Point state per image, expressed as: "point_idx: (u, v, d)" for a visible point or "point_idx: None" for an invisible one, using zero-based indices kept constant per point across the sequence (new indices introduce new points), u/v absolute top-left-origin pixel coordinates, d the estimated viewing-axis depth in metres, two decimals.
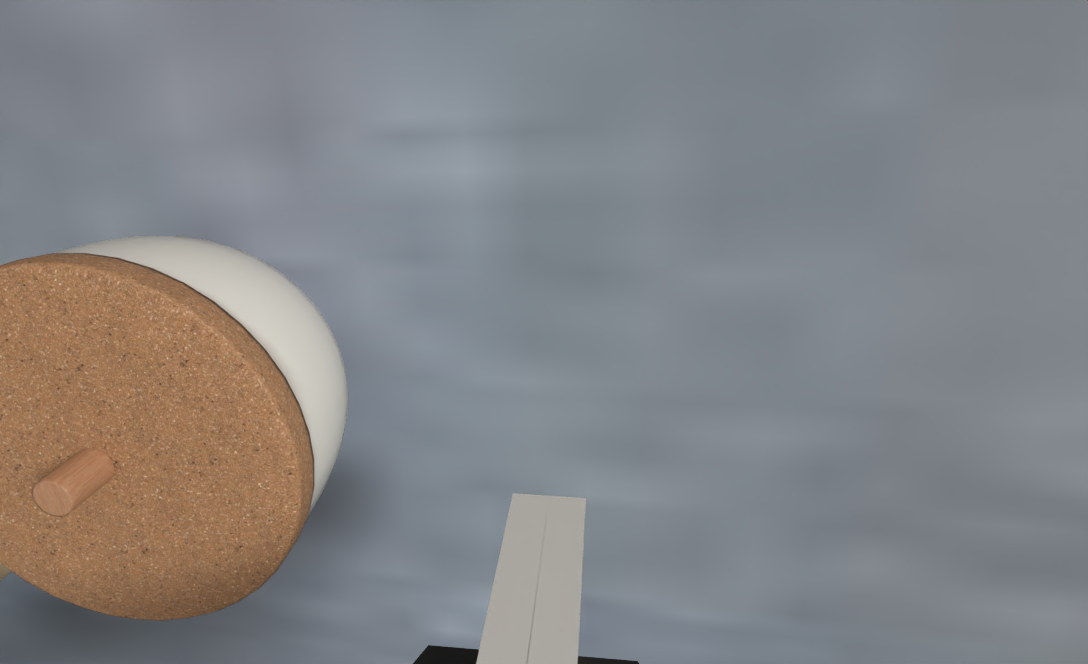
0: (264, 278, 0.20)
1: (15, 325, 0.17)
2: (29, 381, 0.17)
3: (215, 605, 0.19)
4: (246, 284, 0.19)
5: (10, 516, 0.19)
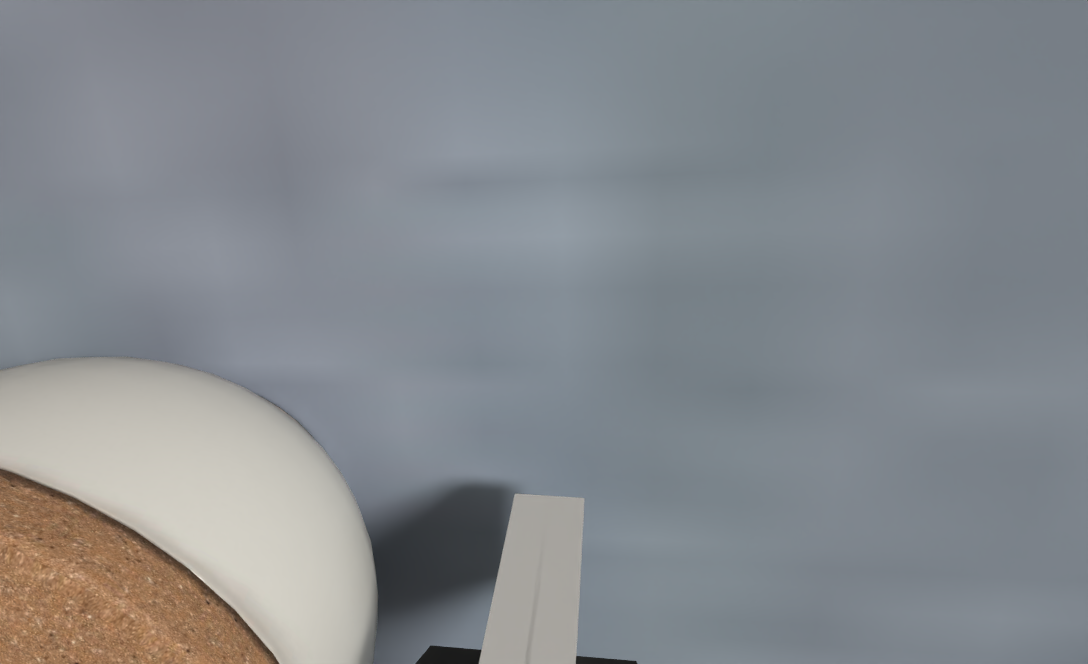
0: (237, 437, 0.12)
1: None
2: None
3: None
4: (203, 463, 0.11)
5: None
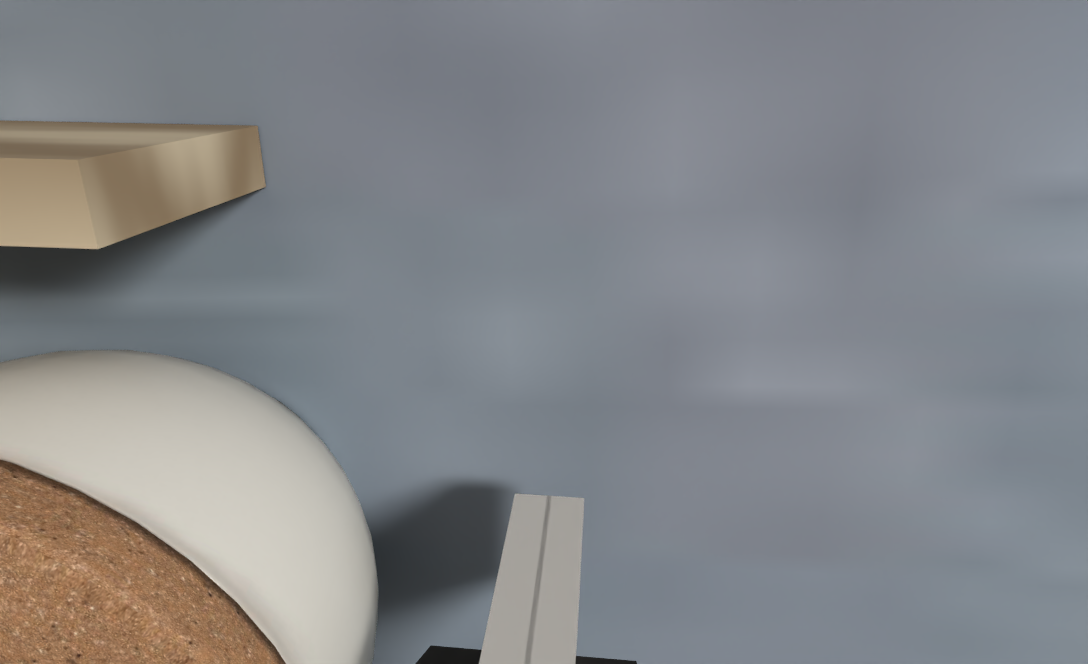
0: (239, 431, 0.12)
1: None
2: None
3: None
4: (205, 456, 0.11)
5: None
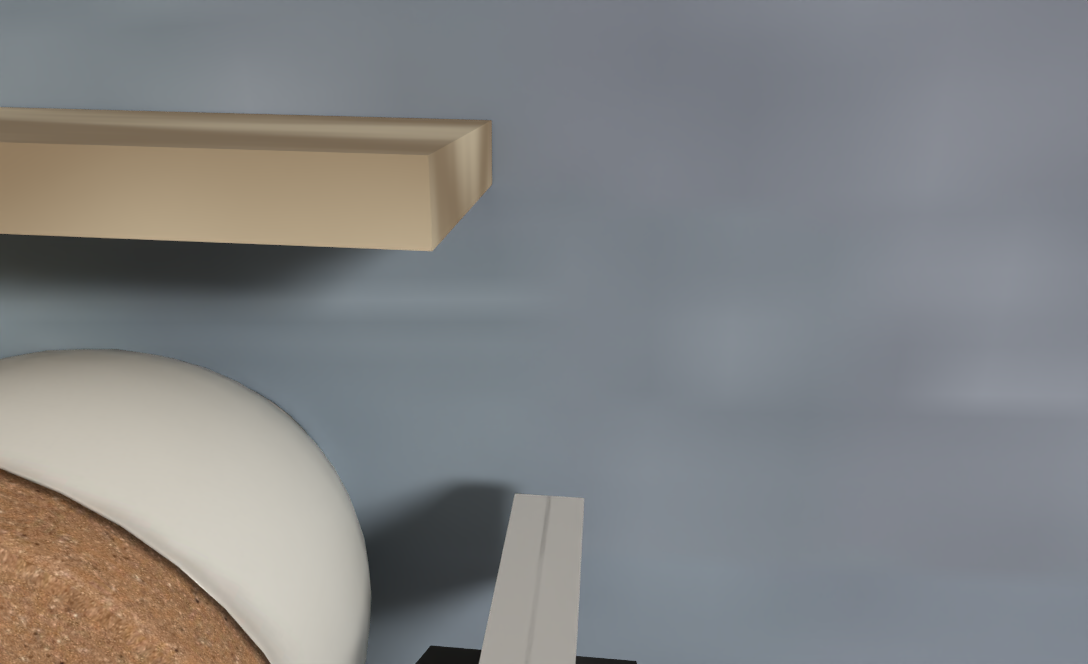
0: (229, 432, 0.11)
1: None
2: None
3: None
4: (194, 458, 0.10)
5: None
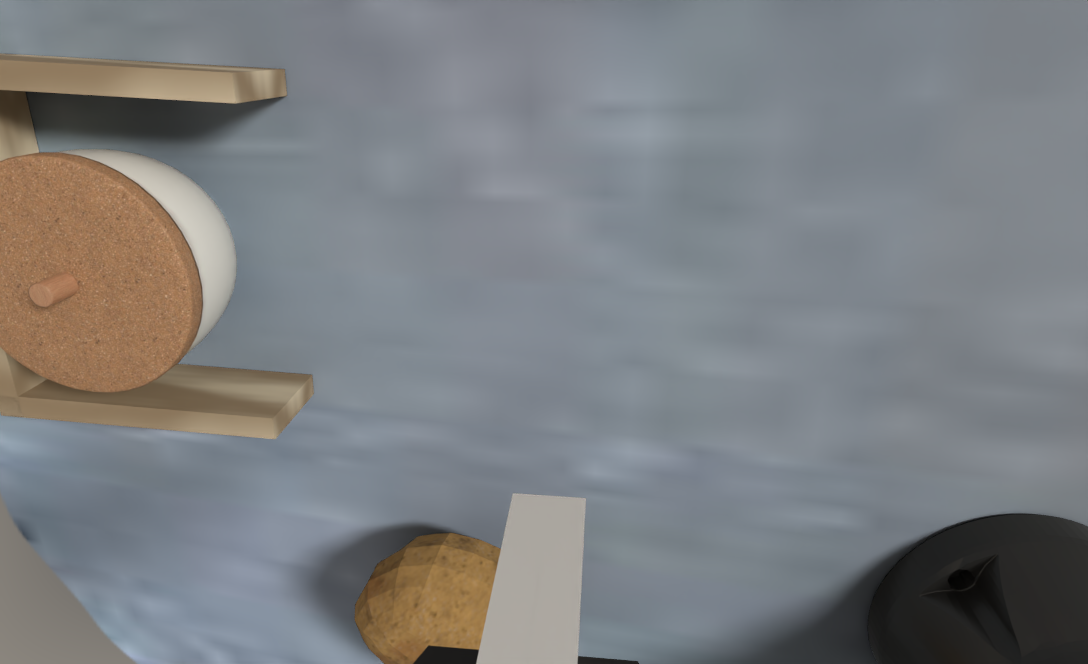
0: (175, 177, 0.31)
1: (18, 193, 0.28)
2: (26, 229, 0.29)
3: (142, 380, 0.31)
4: (161, 178, 0.30)
5: (14, 319, 0.30)
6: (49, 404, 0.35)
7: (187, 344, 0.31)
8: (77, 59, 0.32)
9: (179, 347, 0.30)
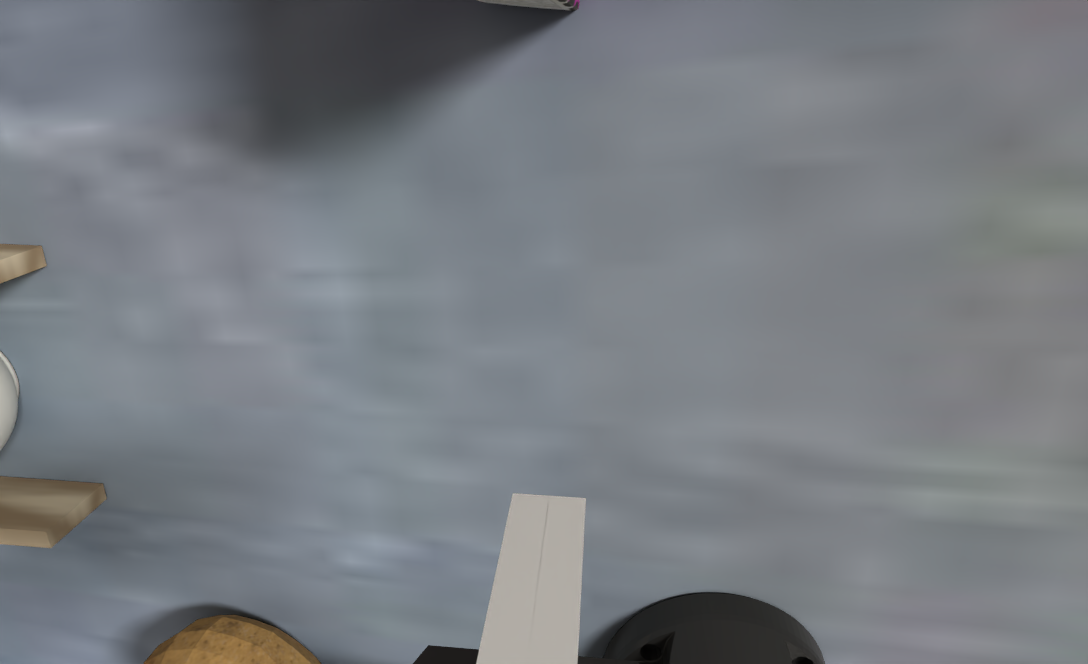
0: None
1: None
2: None
3: None
4: None
5: None
6: None
7: None
8: None
9: None
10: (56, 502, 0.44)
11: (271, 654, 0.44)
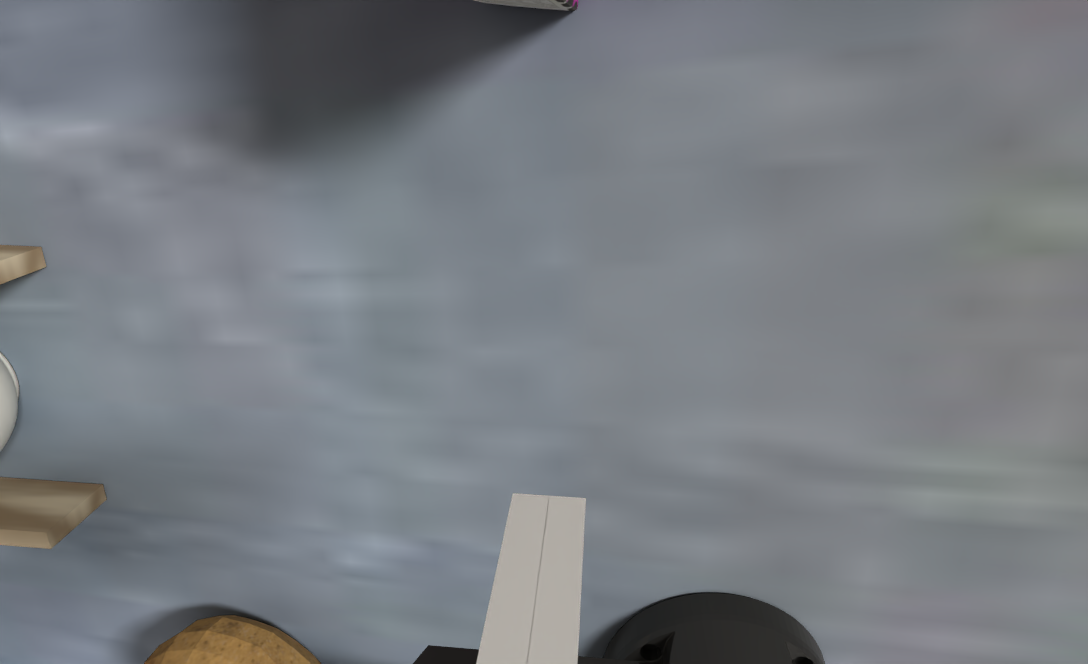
0: None
1: None
2: None
3: None
4: None
5: None
6: None
7: None
8: None
9: None
10: (56, 503, 0.44)
11: (271, 654, 0.45)
